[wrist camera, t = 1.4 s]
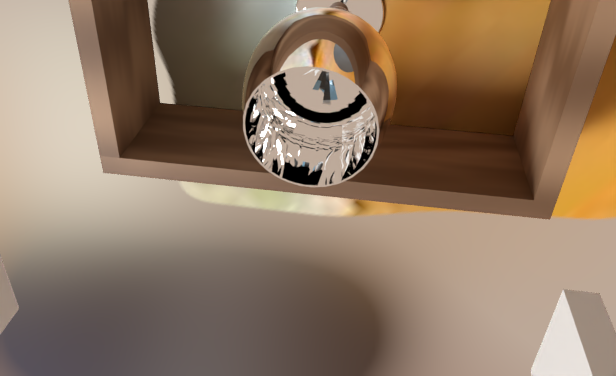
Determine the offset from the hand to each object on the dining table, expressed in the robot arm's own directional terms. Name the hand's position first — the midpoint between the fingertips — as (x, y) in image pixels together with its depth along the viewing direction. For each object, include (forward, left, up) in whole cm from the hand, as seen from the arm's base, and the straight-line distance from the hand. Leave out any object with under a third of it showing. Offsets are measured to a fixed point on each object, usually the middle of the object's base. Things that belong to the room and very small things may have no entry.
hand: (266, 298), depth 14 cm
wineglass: (0, 0, -20) cm, 20 cm away
